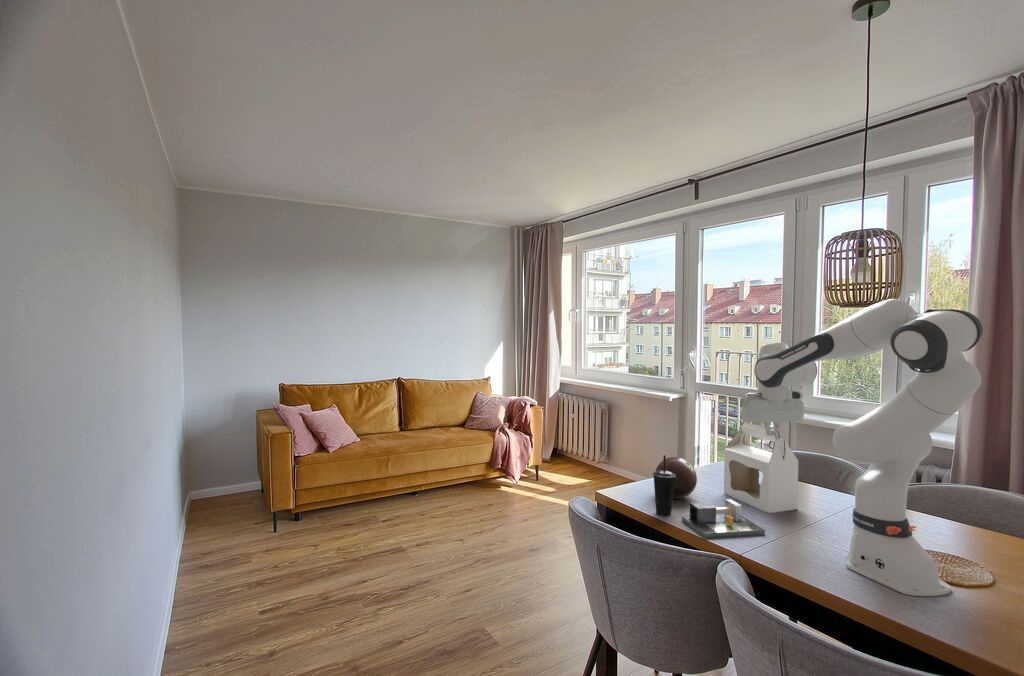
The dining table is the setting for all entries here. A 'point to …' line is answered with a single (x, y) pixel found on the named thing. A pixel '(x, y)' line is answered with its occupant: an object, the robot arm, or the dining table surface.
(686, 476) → the wooden sphere
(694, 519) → the gauge frame
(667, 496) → the drinking cup
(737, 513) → the white block
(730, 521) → the peak needle
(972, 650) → the dining table surface
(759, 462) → the gable box
